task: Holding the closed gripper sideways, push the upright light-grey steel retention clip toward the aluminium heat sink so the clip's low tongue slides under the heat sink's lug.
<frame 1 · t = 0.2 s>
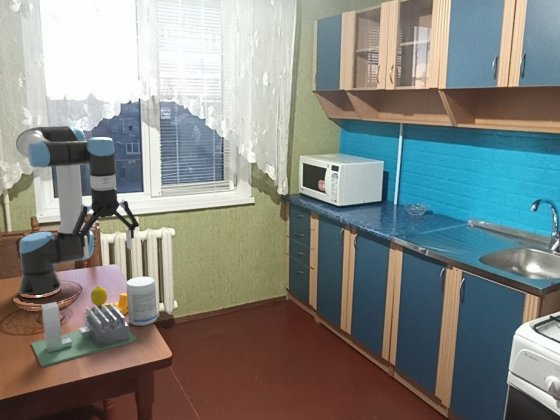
hand: (108, 252, 157), 28 cm above the table, tool pointing down, fingers open, 13 cm apart
heatsink: (106, 336, 159), resting on board
supplement tub: (142, 321, 171), on the table
lemon: (99, 307, 182), on the table
pipe clamp: (115, 316, 174), on the table, touching board
board: (84, 342, 155), on the table
clip: (57, 325, 149), point 8 cm above the table, slide at 0.0 cm
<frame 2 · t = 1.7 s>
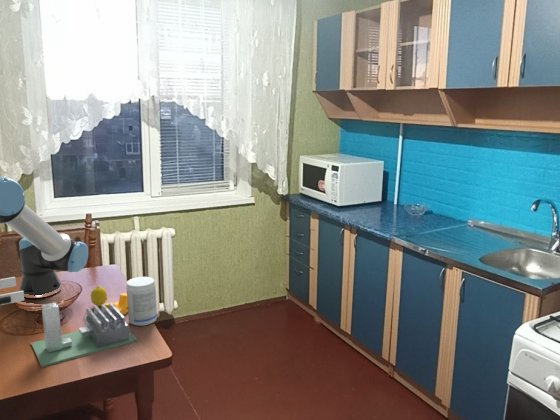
hand: (19, 288, 141), 22 cm above the table, tool horizontal, fingers open, 12 cm apart
nothing on the table moved.
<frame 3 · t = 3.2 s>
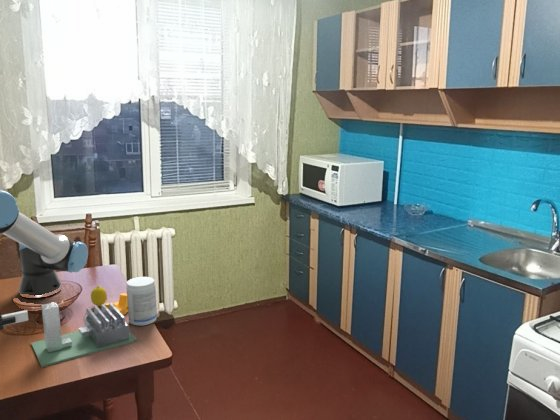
hand: (27, 315, 143), 14 cm above the table, tool horizontal, fingers closed
nothing on the table moved.
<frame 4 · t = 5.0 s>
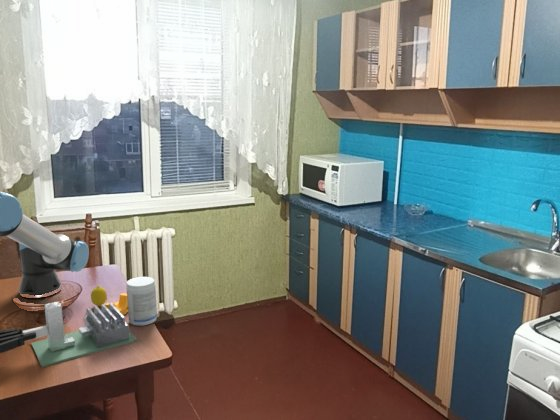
hand: (47, 330, 147), 7 cm above the table, tool horizontal, fingers closed
clip: (60, 325, 150), point 8 cm above the table, slide at 0.8 cm, touching gripper
everything else where it was.
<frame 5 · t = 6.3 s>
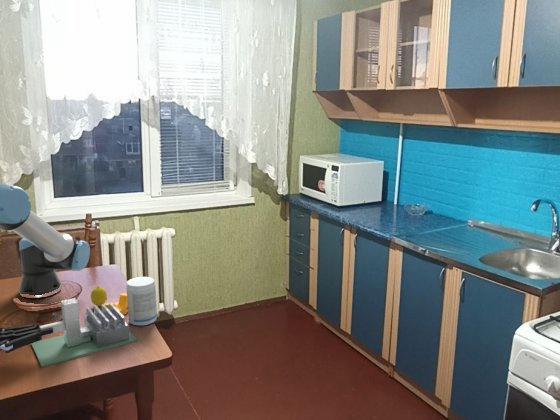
hand: (63, 325, 150), 7 cm above the table, tool horizontal, fingers closed
clip: (76, 321, 152), point 8 cm above the table, slide at 5.5 cm, touching gripper
everything else where it was.
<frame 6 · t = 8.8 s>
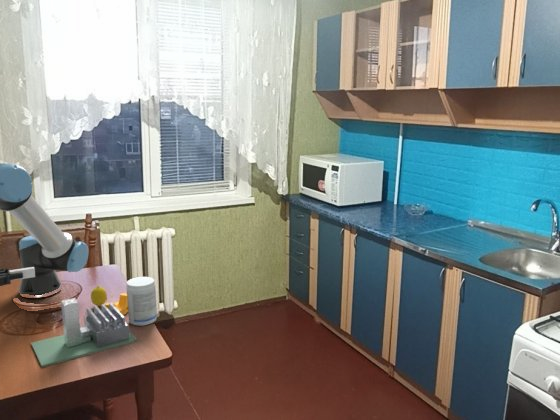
hand: (34, 271, 145), 25 cm above the table, tool horizontal, fingers closed
clip: (76, 321, 152), point 8 cm above the table, slide at 5.5 cm
everything else where it was.
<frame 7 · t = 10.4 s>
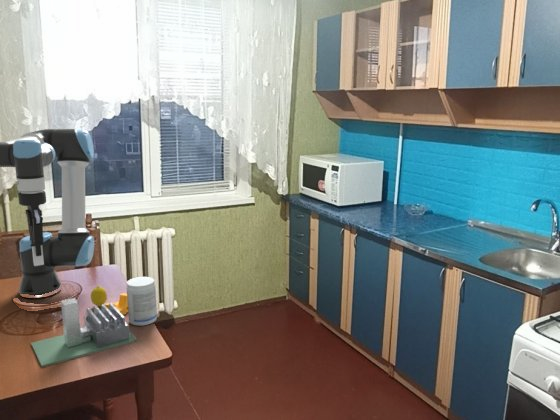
hand: (38, 264, 154), 24 cm above the table, tool pointing down, fingers closed
nothing on the table moved.
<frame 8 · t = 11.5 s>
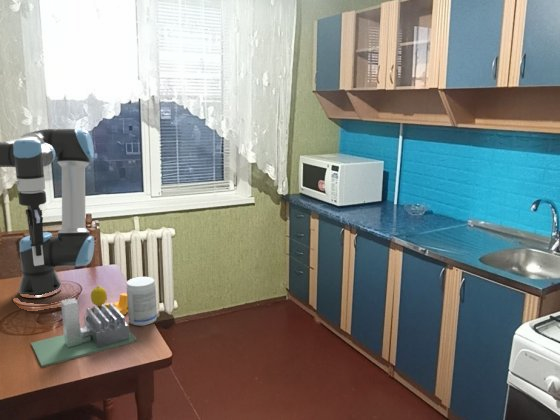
hand: (38, 264, 154), 24 cm above the table, tool pointing down, fingers closed
nothing on the table moved.
at the end: clip slide at 5.5 cm; the gripper is holding nothing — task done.
